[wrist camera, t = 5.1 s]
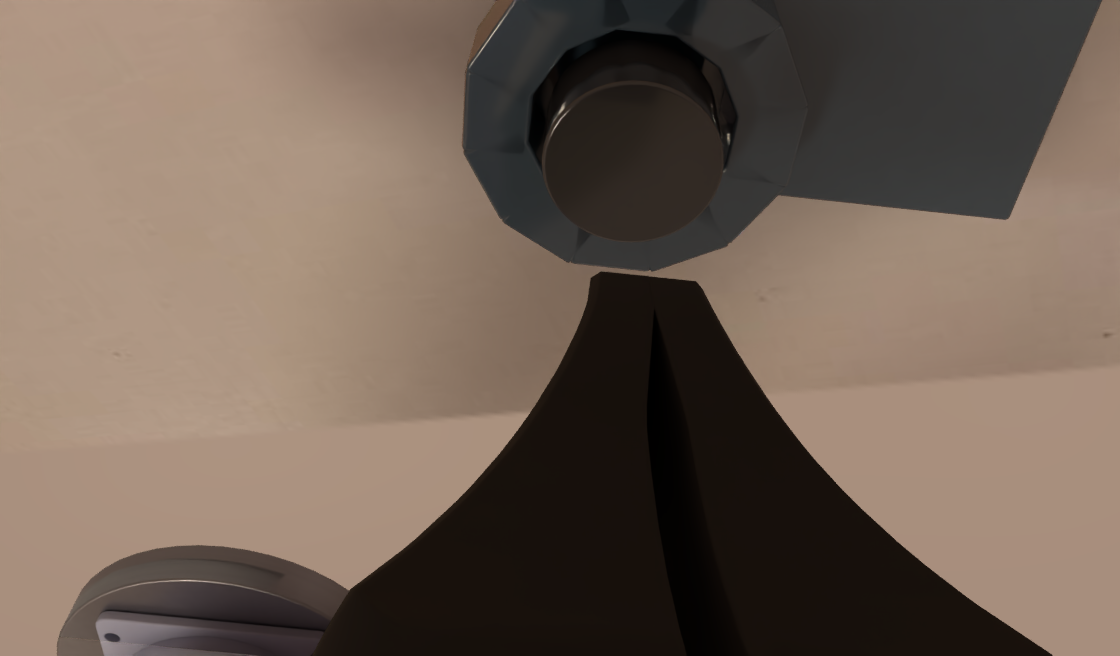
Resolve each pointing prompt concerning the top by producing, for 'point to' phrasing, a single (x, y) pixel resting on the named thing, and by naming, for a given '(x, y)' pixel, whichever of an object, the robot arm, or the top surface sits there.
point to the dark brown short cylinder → (632, 142)
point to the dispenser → (789, 104)
